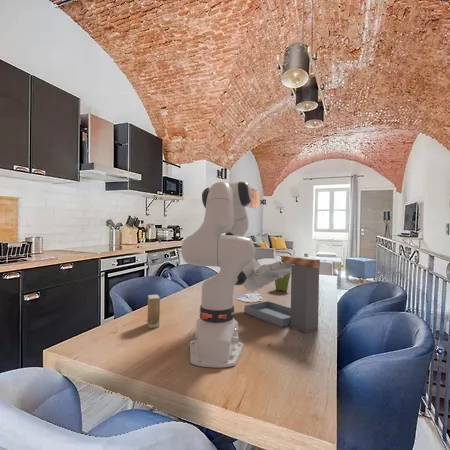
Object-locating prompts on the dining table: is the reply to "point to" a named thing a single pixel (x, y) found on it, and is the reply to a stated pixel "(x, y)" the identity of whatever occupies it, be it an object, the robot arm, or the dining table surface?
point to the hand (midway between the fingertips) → (287, 262)
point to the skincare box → (153, 311)
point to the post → (304, 297)
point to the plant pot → (282, 282)
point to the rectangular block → (300, 261)
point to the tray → (270, 313)
